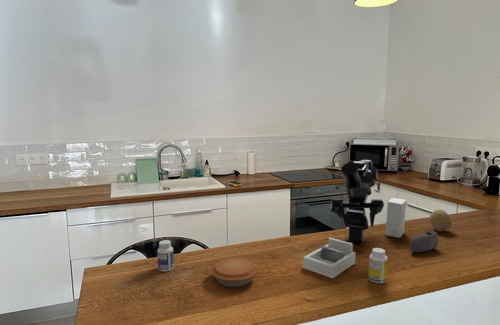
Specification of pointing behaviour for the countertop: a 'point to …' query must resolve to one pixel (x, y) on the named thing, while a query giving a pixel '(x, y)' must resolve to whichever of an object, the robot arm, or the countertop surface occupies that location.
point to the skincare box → (395, 217)
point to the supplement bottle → (378, 266)
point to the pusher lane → (327, 266)
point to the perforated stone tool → (424, 242)
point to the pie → (234, 272)
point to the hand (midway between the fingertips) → (359, 226)
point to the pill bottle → (165, 256)
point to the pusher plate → (331, 254)
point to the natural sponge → (440, 220)
